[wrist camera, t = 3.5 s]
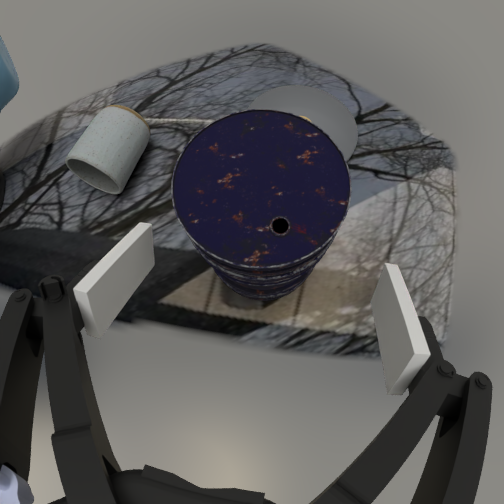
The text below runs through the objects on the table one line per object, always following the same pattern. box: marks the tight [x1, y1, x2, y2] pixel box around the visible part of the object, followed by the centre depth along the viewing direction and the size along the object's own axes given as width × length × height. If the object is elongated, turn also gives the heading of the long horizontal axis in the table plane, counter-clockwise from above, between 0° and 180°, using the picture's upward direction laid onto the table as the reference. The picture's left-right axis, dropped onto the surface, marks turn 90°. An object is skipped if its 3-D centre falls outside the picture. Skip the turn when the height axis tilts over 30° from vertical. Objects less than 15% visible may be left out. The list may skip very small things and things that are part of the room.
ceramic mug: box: [65, 105, 150, 194], centre depth 30 cm, size 11×8×8 cm
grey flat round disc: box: [247, 85, 358, 162], centre depth 33 cm, size 13×13×2 cm
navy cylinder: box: [171, 109, 352, 301], centre depth 23 cm, size 10×10×15 cm
